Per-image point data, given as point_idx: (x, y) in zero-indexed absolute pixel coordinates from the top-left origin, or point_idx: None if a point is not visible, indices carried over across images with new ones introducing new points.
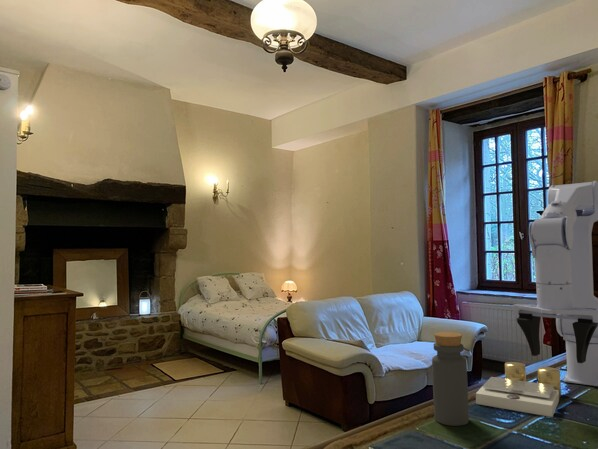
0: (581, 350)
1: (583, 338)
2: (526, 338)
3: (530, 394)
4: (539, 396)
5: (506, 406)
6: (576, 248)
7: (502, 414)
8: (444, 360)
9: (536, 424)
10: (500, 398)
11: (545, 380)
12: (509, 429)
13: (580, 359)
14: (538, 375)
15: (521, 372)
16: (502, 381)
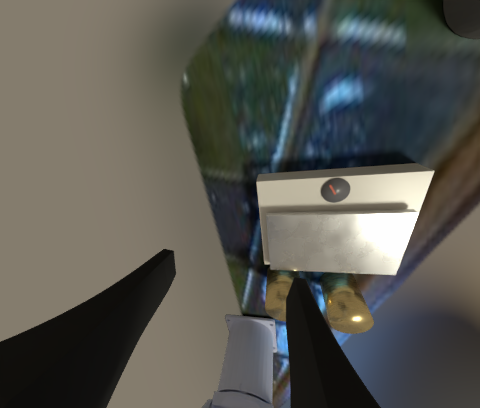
0: (130, 274)
1: (70, 311)
2: (337, 342)
3: (302, 213)
4: (284, 212)
5: (344, 170)
6: None
7: (348, 130)
8: None
9: (275, 115)
10: (363, 174)
11: (287, 283)
12: (322, 33)
13: (156, 254)
14: None
15: (333, 301)
16: (368, 255)
